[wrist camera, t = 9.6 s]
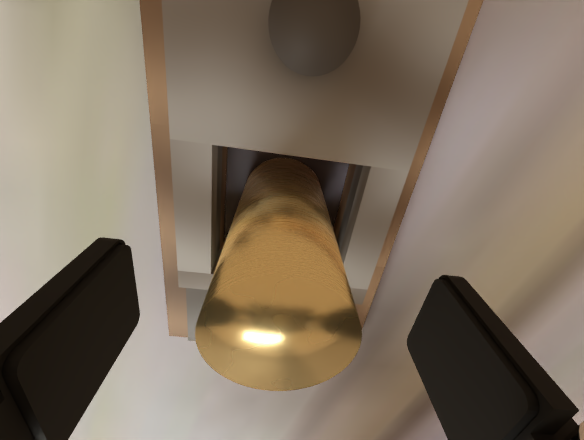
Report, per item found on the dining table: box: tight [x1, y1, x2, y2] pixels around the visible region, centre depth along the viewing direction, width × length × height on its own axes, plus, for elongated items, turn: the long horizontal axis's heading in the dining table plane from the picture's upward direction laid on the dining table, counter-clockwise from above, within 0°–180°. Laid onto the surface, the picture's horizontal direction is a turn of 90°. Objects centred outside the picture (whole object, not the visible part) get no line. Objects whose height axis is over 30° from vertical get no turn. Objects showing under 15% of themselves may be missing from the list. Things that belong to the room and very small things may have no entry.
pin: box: [195, 157, 362, 391], centre depth 11 cm, size 4×4×9 cm
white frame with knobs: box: [140, 0, 483, 341], centre depth 13 cm, size 20×12×4 cm, turn 172°
